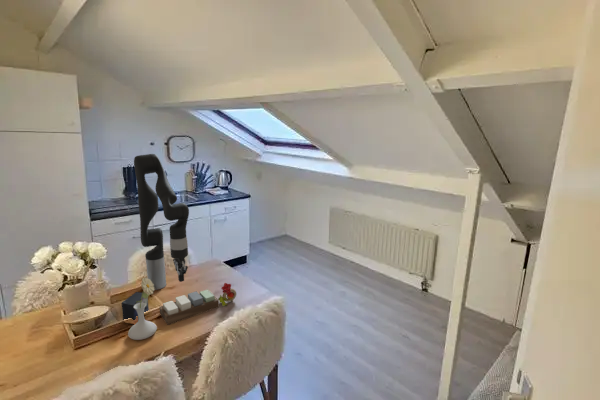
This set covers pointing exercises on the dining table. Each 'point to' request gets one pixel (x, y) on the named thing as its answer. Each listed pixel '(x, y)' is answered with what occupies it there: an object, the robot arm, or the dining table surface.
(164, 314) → the keybed
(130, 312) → the small box
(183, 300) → the key ivory inner
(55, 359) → the dining table surface
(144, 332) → the flower in vase
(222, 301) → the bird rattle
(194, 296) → the key slate
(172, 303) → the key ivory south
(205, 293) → the key sage
